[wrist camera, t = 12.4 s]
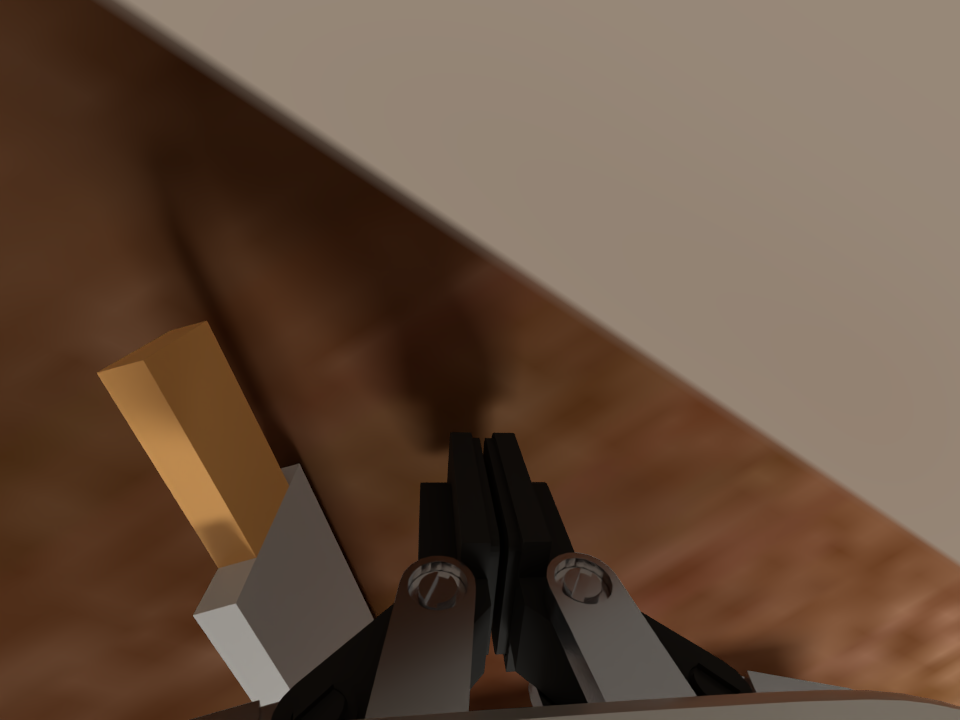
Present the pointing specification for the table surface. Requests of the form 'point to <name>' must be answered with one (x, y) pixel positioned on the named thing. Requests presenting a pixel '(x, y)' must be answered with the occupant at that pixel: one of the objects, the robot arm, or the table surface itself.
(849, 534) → the table surface
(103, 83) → the table surface
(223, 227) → the table surface
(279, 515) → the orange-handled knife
